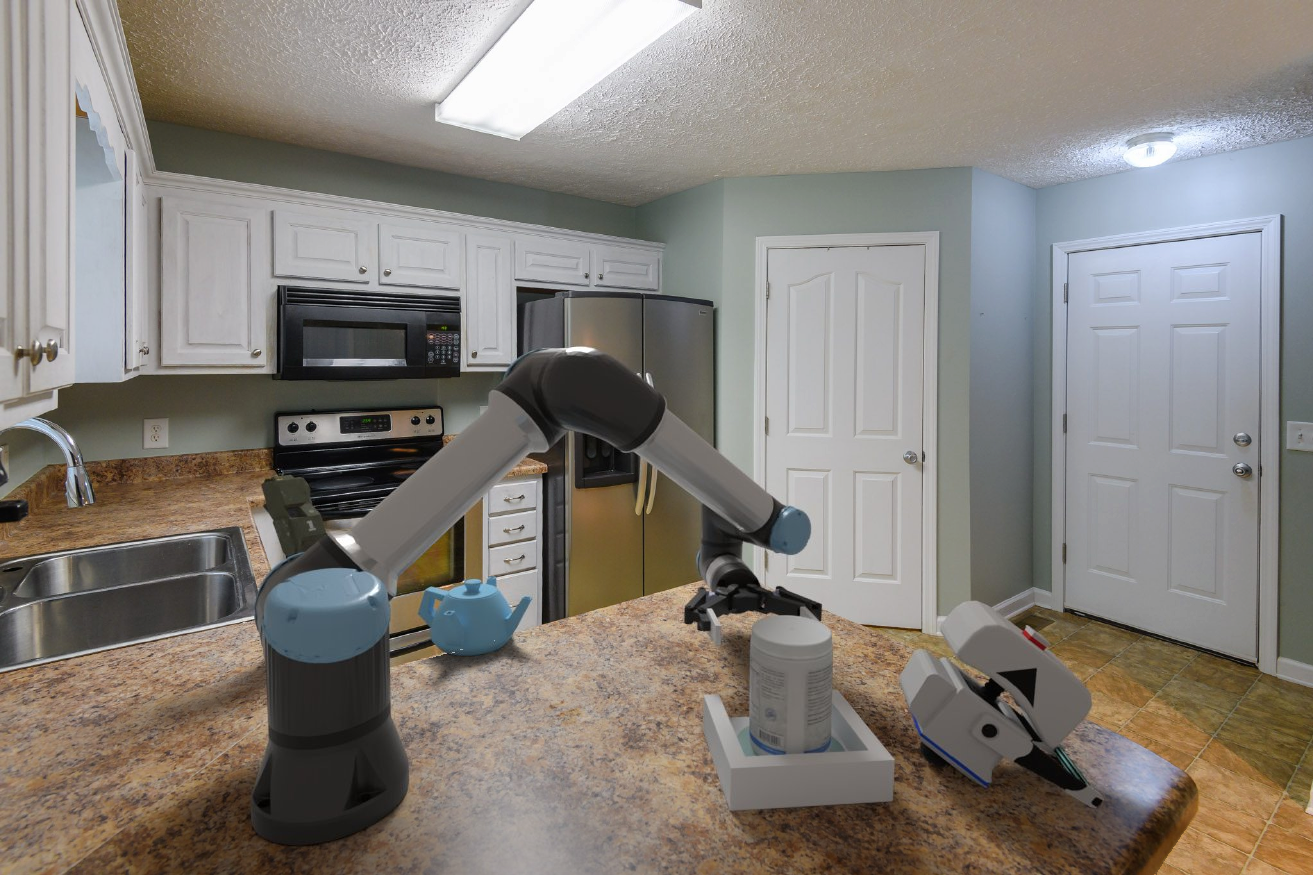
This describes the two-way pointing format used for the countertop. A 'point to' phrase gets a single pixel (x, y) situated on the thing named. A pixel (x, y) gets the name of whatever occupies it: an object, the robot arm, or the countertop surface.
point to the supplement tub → (790, 686)
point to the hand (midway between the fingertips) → (768, 634)
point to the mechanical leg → (292, 513)
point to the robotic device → (997, 701)
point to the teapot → (471, 617)
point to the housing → (798, 763)
